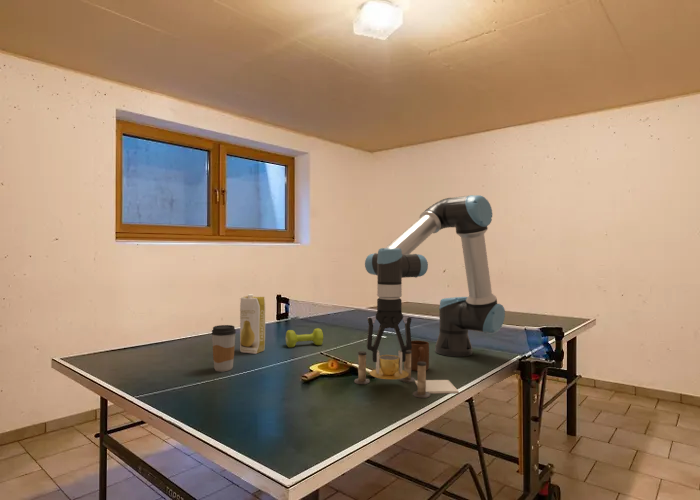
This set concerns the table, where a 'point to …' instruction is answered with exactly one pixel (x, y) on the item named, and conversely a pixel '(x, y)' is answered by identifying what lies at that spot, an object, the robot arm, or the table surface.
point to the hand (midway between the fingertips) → (388, 372)
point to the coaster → (439, 386)
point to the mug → (419, 354)
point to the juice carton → (252, 324)
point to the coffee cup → (223, 347)
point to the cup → (389, 368)
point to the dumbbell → (304, 337)
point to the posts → (407, 367)
